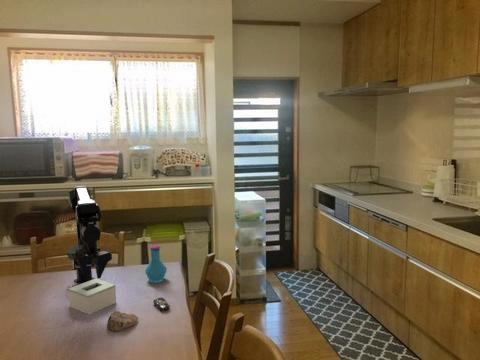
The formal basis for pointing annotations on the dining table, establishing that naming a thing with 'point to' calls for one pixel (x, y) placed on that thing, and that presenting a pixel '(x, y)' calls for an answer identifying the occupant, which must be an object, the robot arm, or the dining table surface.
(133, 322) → the rock
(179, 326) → the dining table surface
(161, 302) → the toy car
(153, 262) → the perfume bottle
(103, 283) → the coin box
